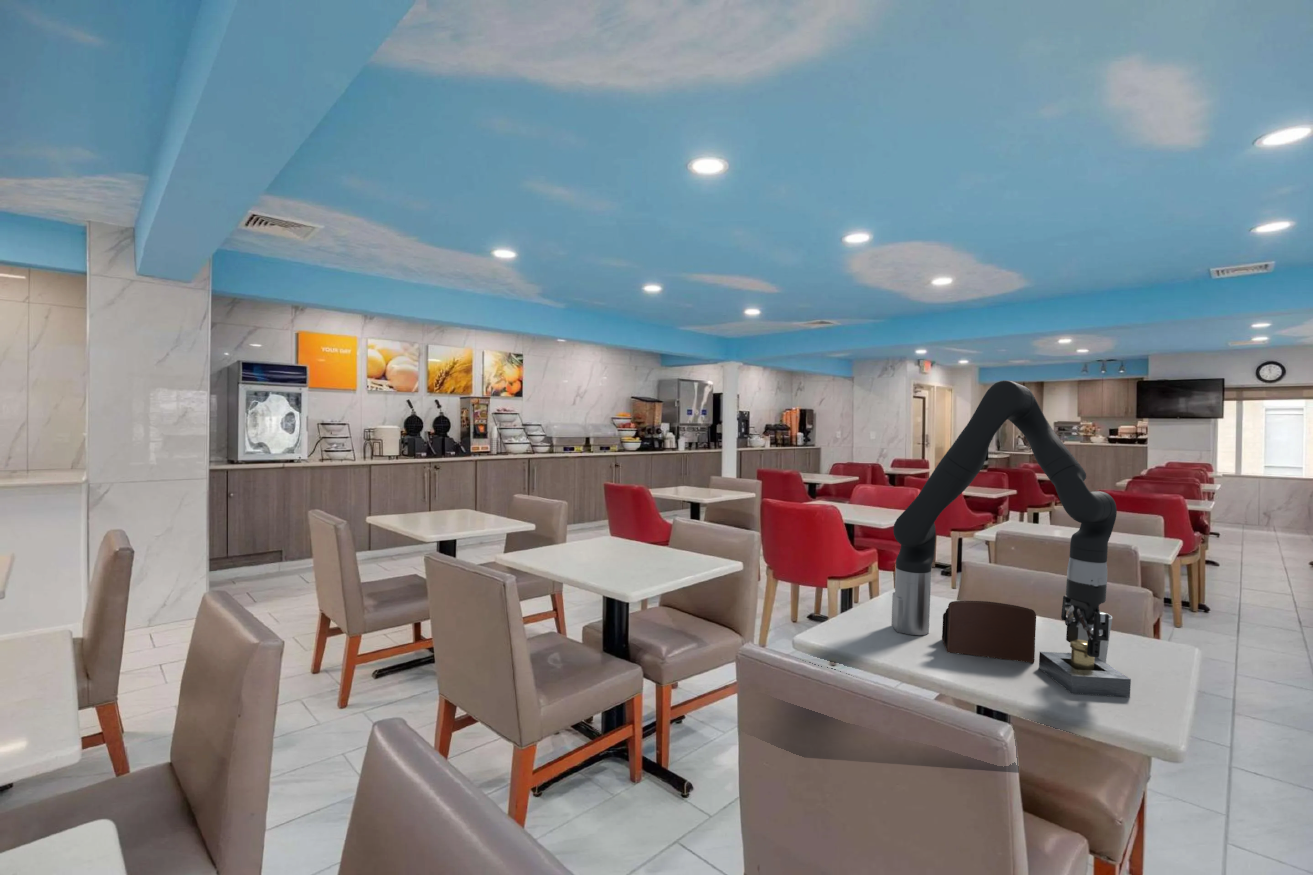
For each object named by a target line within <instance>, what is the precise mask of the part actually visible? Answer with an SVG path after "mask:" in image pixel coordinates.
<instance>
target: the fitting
mask: <svg viewBox="0 0 1313 875" xmlns="http://www.w3.org/2000/svg"><path fill="white" fill-rule="evenodd" d="M1087 645H1088V641H1085V640H1078V639H1075V640H1072V641H1070V642H1069V647H1070V648H1071V652H1070V653H1071V667H1073V668H1074V669H1076V670H1091V671H1094V660H1095V657H1090V656H1088V655H1087Z"/></svg>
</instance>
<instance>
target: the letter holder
mask: <svg viewBox="0 0 1313 875" xmlns="http://www.w3.org/2000/svg"><path fill="white" fill-rule="evenodd" d="M1036 629H1037V614H1036V611H1035V610H1034V609H1032V608H1029V607H1025V606H1021V605H1020V606H1019V605H1015V604H1009V603H1002V602H995V601H987V600H986V601H985V600H954V601H950V602H949V603H948V606H947V608H946V609H945V612H943V614H942V632H941V640H942V643H943V645H944V648H945V651H946V653H948V652H950V653H951V654H957V653H959V654H958V655H966V656H973V657H983V658H988V657H989V658H990V659H996V658H997V659H998V660H1005V661H1013V662H1022V663H1030V664H1034V663H1035V656H1036V655H1035V654H1036V653H1035V651H1036Z"/></svg>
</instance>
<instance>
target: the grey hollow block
mask: <svg viewBox="0 0 1313 875" xmlns="http://www.w3.org/2000/svg"><path fill="white" fill-rule="evenodd" d="M1038 661H1039V662H1038V669H1039V670H1041V671H1042V672H1043V673H1045V674H1046V675H1047V676H1048V677H1049V678H1051V679H1052V680H1053V681H1055V682H1056V683H1057V684H1058V685H1060V686H1061V687H1062V688H1063V689H1065V690H1066V691H1067V692H1068V693H1070V694H1071V695H1085V696H1087V695H1088V696H1103V697H1105V696H1106V697H1121V698H1131V686H1132V685H1131V682H1132V679H1131V678H1130V677H1128V676H1127V675H1126V674H1123V673H1122V672H1121V671H1119V670H1118V669H1116V668H1114V667H1113V666H1111V665H1109V664H1108V663H1107V662H1106V663H1105V662H1104V661H1102V660H1101V659H1099V658H1097V657H1095V660H1094V671H1091V670H1076V669H1074V668H1073V667H1071V652H1055V651H1053V652H1052V651H1039V659H1038Z"/></svg>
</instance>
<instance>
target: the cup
mask: <svg viewBox="0 0 1313 875" xmlns="http://www.w3.org/2000/svg"><path fill="white" fill-rule="evenodd" d="M1100 612H1101V613H1105V612H1104V611H1100ZM1107 614H1108V615H1109V628H1108V641H1101V642H1100V653H1099V657H1097V658H1099V659H1101V660H1102V661H1104V662H1105V663H1107V656H1108V649H1109V642H1110V636H1111V630H1112V624H1113V616H1112V615H1110V614H1109V613H1107ZM1077 627H1079V628H1078V640H1085V641H1088V639H1089V638H1088V635H1087V632H1086V630H1084V629H1083V626H1082V624H1081V623H1080V624H1079V625H1078V626H1077ZM1101 633H1102V635H1103V630H1101ZM1092 634H1093V630H1092Z"/></svg>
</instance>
